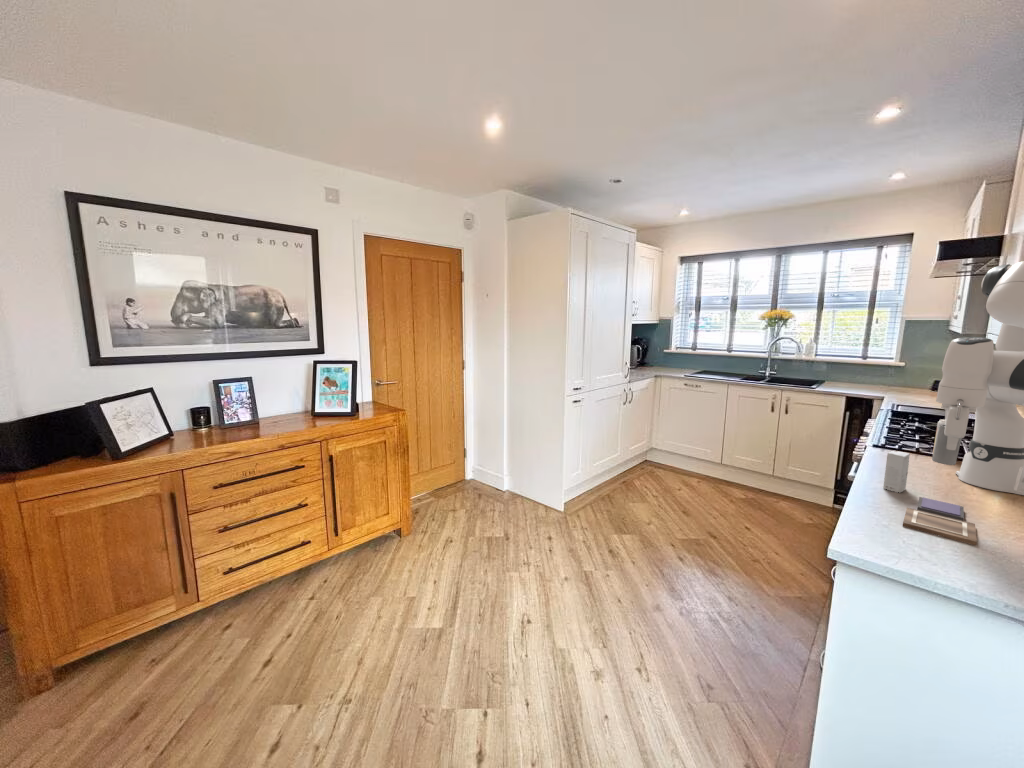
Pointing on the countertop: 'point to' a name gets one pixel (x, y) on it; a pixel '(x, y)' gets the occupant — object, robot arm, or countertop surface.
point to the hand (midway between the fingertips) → (950, 447)
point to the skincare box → (896, 471)
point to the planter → (944, 449)
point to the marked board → (940, 526)
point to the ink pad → (941, 508)
